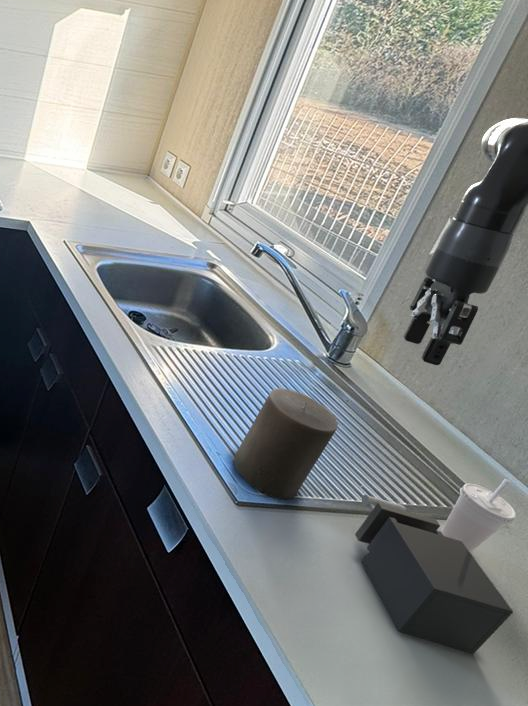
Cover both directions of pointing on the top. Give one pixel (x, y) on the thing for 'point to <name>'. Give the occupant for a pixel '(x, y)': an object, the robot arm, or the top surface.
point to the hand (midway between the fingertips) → (420, 351)
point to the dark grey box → (434, 588)
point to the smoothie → (478, 515)
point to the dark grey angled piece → (385, 514)
